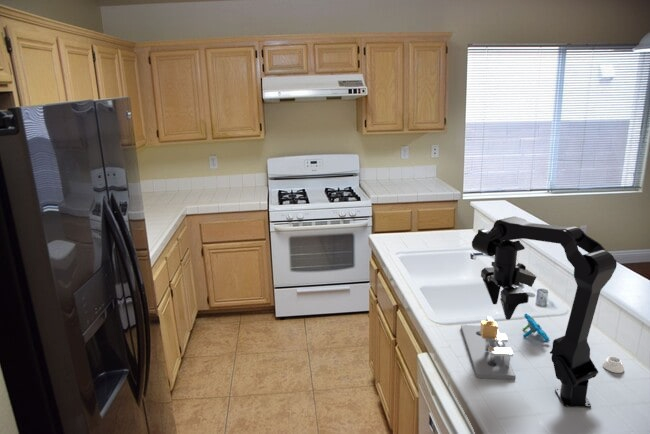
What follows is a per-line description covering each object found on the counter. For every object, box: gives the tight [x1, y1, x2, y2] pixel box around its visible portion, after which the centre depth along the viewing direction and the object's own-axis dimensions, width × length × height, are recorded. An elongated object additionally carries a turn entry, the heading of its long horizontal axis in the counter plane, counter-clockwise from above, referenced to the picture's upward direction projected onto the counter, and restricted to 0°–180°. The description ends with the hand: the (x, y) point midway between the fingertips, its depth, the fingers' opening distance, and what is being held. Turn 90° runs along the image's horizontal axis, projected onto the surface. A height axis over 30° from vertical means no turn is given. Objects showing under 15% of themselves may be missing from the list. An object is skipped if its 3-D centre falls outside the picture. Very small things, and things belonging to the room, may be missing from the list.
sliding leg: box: [480, 320, 509, 351], centre depth 134 cm, size 3×7×9 cm, turn 84°
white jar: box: [602, 355, 625, 374], centre depth 128 cm, size 5×3×5 cm
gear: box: [522, 313, 550, 342], centre depth 144 cm, size 11×6×10 cm
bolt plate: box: [460, 324, 516, 380], centre depth 137 cm, size 26×10×1 cm, turn 174°
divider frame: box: [485, 316, 514, 367], centre depth 138 cm, size 22×6×4 cm, turn 174°
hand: (501, 311), depth 133 cm, fingers open, 9 cm apart
